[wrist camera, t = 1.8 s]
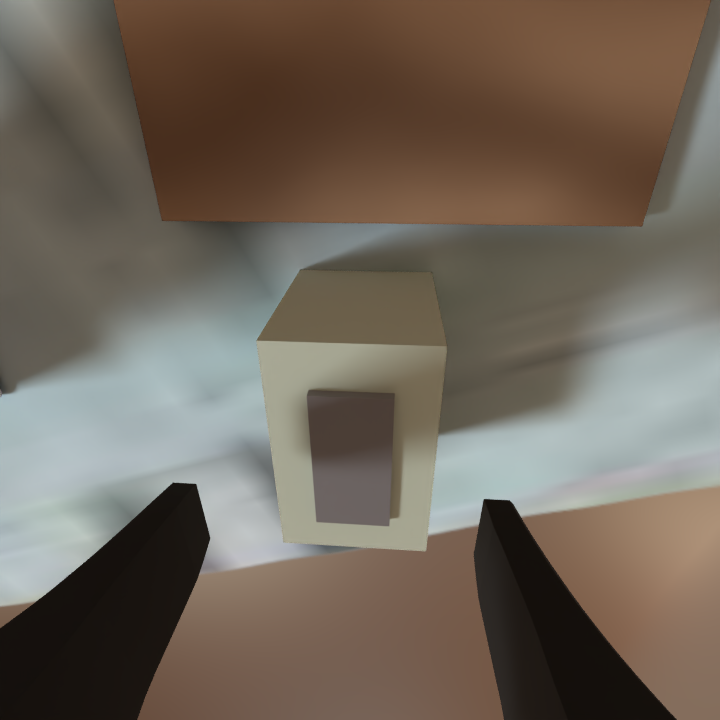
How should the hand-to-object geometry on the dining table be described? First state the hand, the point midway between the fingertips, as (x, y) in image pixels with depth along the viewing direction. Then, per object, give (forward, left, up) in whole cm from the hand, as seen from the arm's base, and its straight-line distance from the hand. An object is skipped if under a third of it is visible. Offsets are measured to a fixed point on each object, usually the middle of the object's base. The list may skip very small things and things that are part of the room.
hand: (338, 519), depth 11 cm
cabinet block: (0, 0, -8) cm, 9 cm away
